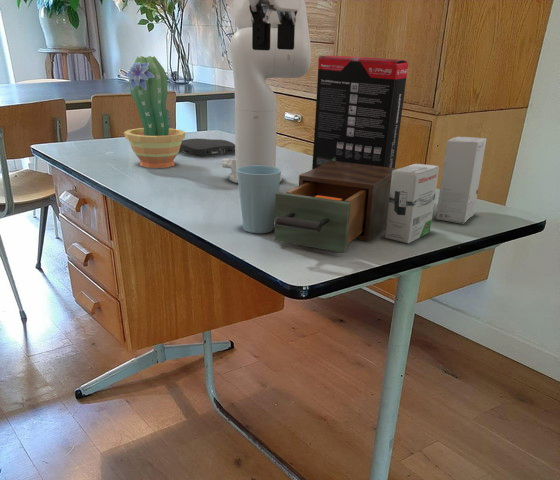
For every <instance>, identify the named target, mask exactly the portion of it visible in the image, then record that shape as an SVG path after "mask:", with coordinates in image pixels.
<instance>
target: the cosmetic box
mask: <svg viewBox="0 0 560 480" xmlns="http://www.w3.org/2000/svg"><path fill="white" fill-rule="evenodd" d="M487 141H488V140H487V137H486V138H485V137H471V136H455V137H452V138H450V139H448V140H447V141H446V144H445V145H446V146H445V153H444V160H443V167H442V173H441V174H442V175H441V180H440V187H439V193H438V194H439V195H438V202H437V209H436V214H435V215H436V216H435V219H436V220H439V221H447V222H451V223H456V224H461V225H464V224H466V222H467V221H468V220H469V219H471V218H472V217H474V214H475V210H476V204H477V199H478V193H479V186H480V182H481V175H482V169H483V163H484V155H485V151H486V146H487V145H486V144H487Z"/></svg>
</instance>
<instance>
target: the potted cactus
mask: <svg viewBox="0 0 560 480" xmlns="http://www.w3.org/2000/svg"><path fill="white" fill-rule="evenodd" d="M125 77H126V78H128V82H129V83H128V84H129V90H130V95H131V97H132V99H133V101H134V103H135V105H136V107H137V110H138V114H139V119H140V121H141V125H142V127H138V128H132V129H131V128H130V129H126V130H125V131H123V134H124V138H125V139H126V140H127V141H128V142H129V145H130V147H131V150H132V152H133V153H134V154H135V156H136V157H137V159H139V166H140V167H143V168H147V169H166V168H172V167H174V166H175V165H176V163H175V161H174V160H175V159H176V157H177V155H178V154H179V153H180V152H179V150H180V146H181V142H182V140H185V138H186V131H184V130H182V129H178V128H171V127H169V119H168V112H167V99H168V75H167V73H166V70H165V69H164V67H163V66H162V64H161V62H159V60H158V59H157V58H156V56H154V55H153V56H151V55H148V56H146V57H145V56H142V55H141V56H137V57H136V58H135V60H134V62H133V64H132V66H130V67H129V71H128V72H127V73H126V76H125Z"/></svg>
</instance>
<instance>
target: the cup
mask: <svg viewBox="0 0 560 480" xmlns="http://www.w3.org/2000/svg"><path fill="white" fill-rule="evenodd" d="M281 175H282V169H280V168H278V167H277V166H276V167H271V166H261V165H253V166H243V167H239V168H238V169H237V177H238V183H237V184H238V192H239V193H238V194H239V202H240V210H241V218H242V219H241V220H242V227H243V231H245V232H247V233H250V234H251V233H252V234H266V233H271V232H272V231H274V230H275V199H276V193H278V192H280V191H279V190H280V183H281V181H280V176H281Z"/></svg>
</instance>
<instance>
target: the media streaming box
mask: <svg viewBox="0 0 560 480" xmlns="http://www.w3.org/2000/svg"><path fill="white" fill-rule="evenodd" d="M178 153H181V154H185V155H189V156H192V157H197V158H207V157H217V156H225V155H232V154H235V143H234V142H232V141H229V140H227V139H210V138H188V139H183V140H182V142H181V146H180V150H179V152H178Z"/></svg>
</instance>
